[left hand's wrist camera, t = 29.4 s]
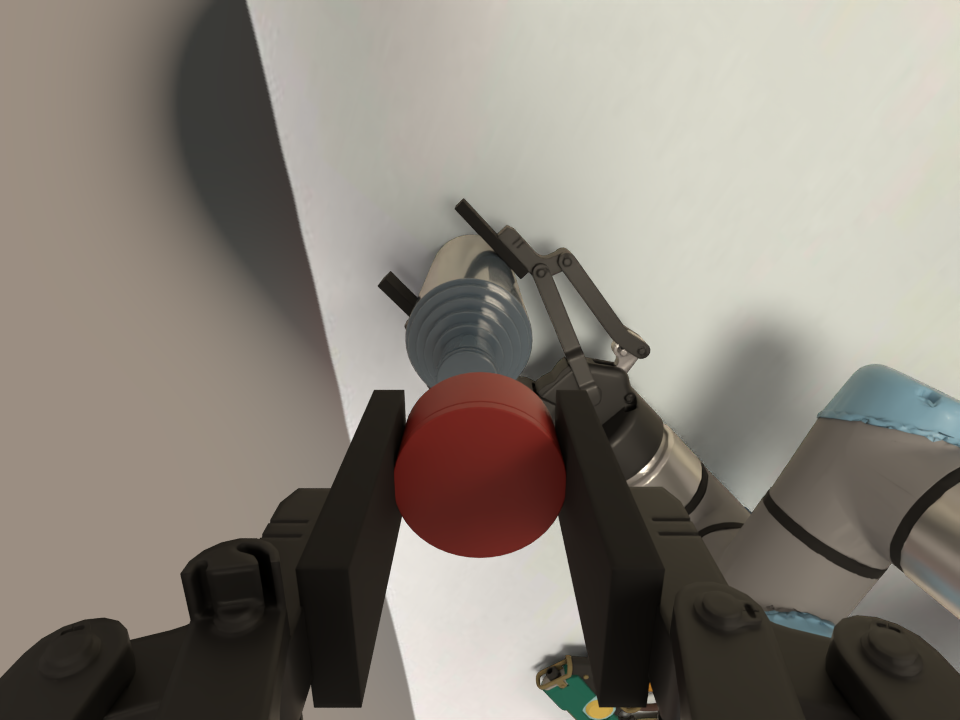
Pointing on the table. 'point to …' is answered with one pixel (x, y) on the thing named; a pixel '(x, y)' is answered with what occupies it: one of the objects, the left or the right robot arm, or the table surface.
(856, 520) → the right robot arm
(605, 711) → the spray gun
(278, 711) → the left robot arm
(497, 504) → the cap
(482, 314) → the bottle
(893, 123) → the table surface
